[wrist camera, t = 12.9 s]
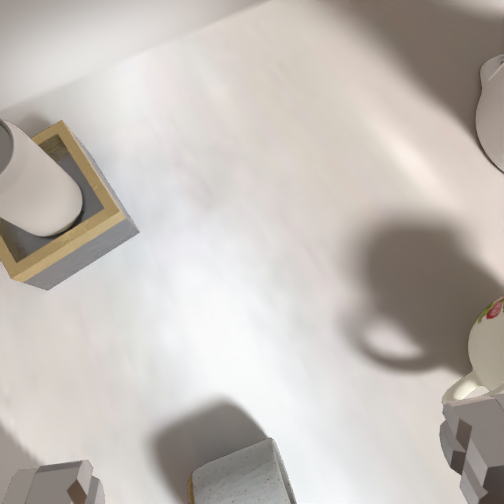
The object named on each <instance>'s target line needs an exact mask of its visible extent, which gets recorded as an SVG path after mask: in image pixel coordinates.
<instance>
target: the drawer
mask: <svg viewBox="0 0 504 504" xmlns="http://www.w3.org/2000/svg"><path fill="white" fill-rule="evenodd" d="M30 139H31V140H33V141H34V142H35V143H36V144H37V145H38V146H39V147H40V148H41V149H42V150H43V151H44V152H45V153H46V154H47V155H48V156H49V157H50V158H51V159H53V160H54V161H55V162H56V163H57V164H58V165H59V166H60V167H61V168H62V169H63V170H64V171H65V172H66V173H67V174H68V175H69V176H70V177H71V178H72V179H73V180H74V181H75V182H76V183H77V185H78V186H79V188H80V191H81V194H82V208H81V211H80V214H79V216H78V218H77V219H76V221H75V222H74V223H73V224H72V225H71V226H70V227H69V228H68V229H66V230H65V231H63V232H61V233H58V234H56V235H52V236H46V237H43V236H37V235H34V234H31V233H29V232H27V231H25V230H23V229H21V228H19V227H17V226H16V225H14V224H12V223H10V222H8V221H6V220H4V219H3V218H1V217H0V262H1V261H2V263H3V265H4V267H5V268H6V270H7V272H8V274H9V276H10V277H11V279H13V280H16V281H20V282H23V283H26V284H29V285H32V286H35V287H39V288H42V289H45V290H49V289H51V288H52V287H54V286H56V285H57V284H59V283H60V282H62V281H64V280H65V279H67V278H68V277H70V276H71V275H73V274H75V273H76V272H78V271H79V270H81V269H83V268H84V267H86V266H87V265H89V264H90V263H92V262H94V261H95V260H97V259H98V258H100V257H102V256H103V255H105V254H106V253H108V252H109V251H111V250H113V249H114V248H116V247H117V246H119V245H121V244H122V243H124V242H125V241H127V240H128V239H130V238H132V237H133V236H135V235H136V234H138V233H140V232H139V230H138V228H137V227H136V225H135V224H134V222H133V221H132V219H131V217H130V216H129V214H128V213H127V211H126V210H125V208H124V206H123V205H122V203H121V202H120V200H119V199H118V197H117V195H116V194H115V192H114V191H113V189H112V188H111V186H110V185H109V183H108V181H107V180H106V178H105V177H104V175H103V174H102V172H101V170H100V169H99V167H98V166H97V164H96V163H95V161H94V159H93V158H92V156H91V155H90V153H89V152H88V151H87V149H86V148H85V147H84V146H83V145H82V143H81V142H80V141H79V140H78V139H77V137H76V136H75V135H74V134H73V133H72V131H71V130H70V129H69V128H68V127H67V125H66V124H65V123H64V122H63V121H62V120H61V121H59V122H58V123H56V124H54V125H52V126H51V127H49V128H47V129H46V130H44V131H42V132H40V133H39V134H37V135H35V136H34V137H32V138H30Z"/></svg>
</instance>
